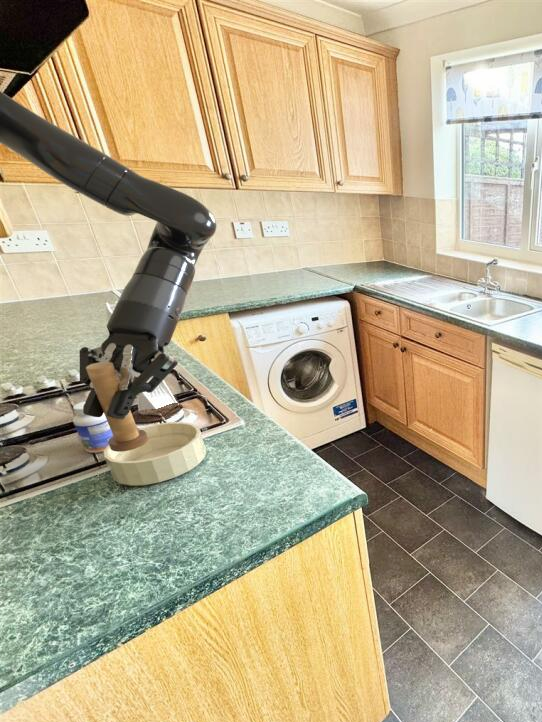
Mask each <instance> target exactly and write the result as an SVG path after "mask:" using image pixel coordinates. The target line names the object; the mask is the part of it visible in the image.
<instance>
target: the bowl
mask: <svg viewBox="0 0 542 722" xmlns="http://www.w3.org/2000/svg"><path fill="white" fill-rule="evenodd" d="M137 429H138V430H144V431H145V432H146V434H147V437H148V441H147V442H146V443H145V444H144V445H142V446H140V447H138V448H136V449H132V450H129V451H122V452H116V451H112V450H111V448H110V446H109V445H108V446H107V447H106V449H105V450H104V451H103V458H104V460H105V463H106V465H107V467H108V469H109V472H110V474H111V476H112V478H113V480H114V481H115V482H117V483H118V484H119V485H120V484H121V485H126V486H147V485H151V484H158V483H162V482H165V481H168V480H171V479H174V478H177V477H179V476H181V475H183V474H185V473H188V472H189V471H191V470H193V469H194V468H196V467H197V466H199V464H200V463H201V462H202V461H203V460H204V459H205V457H206V454H207V447H206V445H205V441H204V438H203V435H202V432H201V430H200V427H199V426H198V425H196V424H194V423H191V422H184V421H170V422H162V423H155V424H151V425H146V426H143V427H140V428H137Z"/></svg>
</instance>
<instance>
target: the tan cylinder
mask: <svg viewBox="0 0 542 722" xmlns="http://www.w3.org/2000/svg"><path fill="white" fill-rule="evenodd" d="M86 370H87V372H88V375H89V377H90V380H91V382H92V385H93V387H94V389H95V392H96V394H97V397H98V399H99V402H100V404H101V407H102V409H103V412H104V414H105V417H106V419H107V422H108V424H109V426H110V429H111V431H112V434H113V437H111V438H110V439H109V440H108V443H109V446H110V448H111V450H112V451H116V452H122V451H129V450H132V449H136V448H138V447H140V446H142V445H144V444H145V443H146V442H147V441H148V437H147V434H146V432H145V431H144V430H138V429H139V428H138V427H137V424H136V421H135V419H134V416H133V414H132V411H131V410H130V411H129V413H128V414H127V415H126V416H125V418H124V419H115V418H112V417H109V416H107V411H108V408H109V406H110V404H111V402H112V399H113V397H114V395H115V392H116V391H120V389H119V385H120V381H121V380H119V378H118V376H117V373H116V370H115V368H114V365H113V363H111V362H99V363H94V364H91V365H89V366H87V367H86Z"/></svg>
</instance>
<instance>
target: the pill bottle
mask: <svg viewBox="0 0 542 722" xmlns="http://www.w3.org/2000/svg"><path fill="white" fill-rule="evenodd" d="M85 403H86V400H85V401H81V402H78V403H76V404H74V405H73V407H72V409H73V412H74V414H75V416H74V417H73V418H72V423H73V425H74V427H75V430H76V433H77V434H78V437H79V439H80V441H81V444H82V446H83V448H84V450H85V451H86V452H87V453H90V454H91V453H92V454H97V453H104V450H105V449H106V447H107V446H108V445H109V443H108V440H109V439H110V438H111V437H113V434H112V431H111V429H110V426H109V424H108V422H107V419H106V417H105V414H104V413H103V415H102V416H101V417H92V416H89V415H85V414H84V413H83V406H84V404H85Z"/></svg>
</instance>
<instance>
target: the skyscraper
mask: <svg viewBox="0 0 542 722" xmlns="http://www.w3.org/2000/svg"><path fill="white" fill-rule="evenodd" d="M117 303H118V300H116V301H114V303H113V304H109V302H105V310H106V317H107V323H108V322H109V320H110V317H111V315H112V313H113V311H114V309H115V307H116V305H117ZM153 377H154V376H152V377H151V378H150V379H149V380H148V381H147V382H146V383H148V382H149V381H150V380H151V379H152V378H153ZM132 382H133V380H132ZM136 401H137V409H138V412H139V411H141V410H145V409H158V408H161V407H164V406H166V405H169V404H172V403H178V402H177V400H176V397H175V396H174V395H173V393H172V391H171V389H170V388H169V387H168V385H167V383H166V382H165V379H164V380H163V381H162V382H161V383H160V384H159V385H158V386H157V387H156V388H155V389H154V390H153V391H152V392H150V393H148V392H142V393H140V394H139V395H137V396H136Z"/></svg>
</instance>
